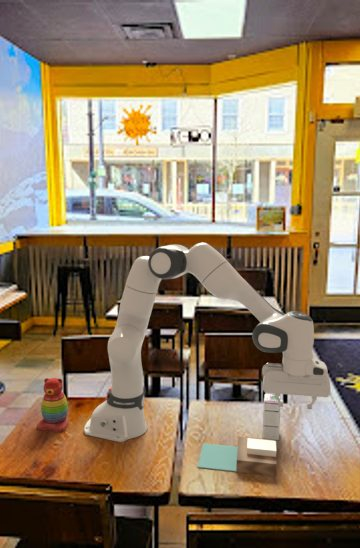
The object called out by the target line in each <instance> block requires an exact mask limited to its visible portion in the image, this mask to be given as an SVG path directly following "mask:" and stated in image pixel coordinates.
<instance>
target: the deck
mask: <svg viewBox="0 0 360 548" xmlns="http://www.w3.org/2000/svg"><path fill="white" fill-rule="evenodd" d="M248 438H249V437H248V436H247V437H246V436H238V438H237V439H238V440H237V441H238V442H237V447H238V451H237V466H236V472H235V473H243V474H253V475H261V476H271V477H277V456H276V457H273V456H263V455H253V454H247V441H248ZM250 438H251V439H259V438H257V437H250ZM261 439H262V440H270V439H264V438H261ZM272 441H276V440H272Z"/></svg>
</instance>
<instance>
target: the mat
mask: <svg viewBox="0 0 360 548" xmlns="http://www.w3.org/2000/svg"><path fill="white" fill-rule="evenodd" d="M237 451H238V446H234V445H225V444H216V443H215V444H214V443H206V442H203V443H202V446H201V450H200V455H199V458H198V459H199V460H198V463H197V468H199V469H208V470H217V471H227V472H235V473H237V472H236V466H237Z"/></svg>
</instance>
